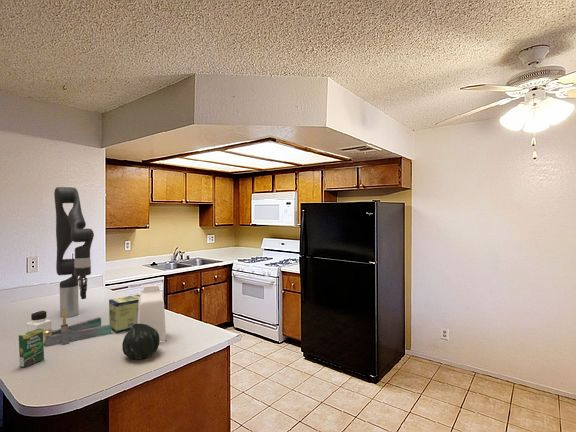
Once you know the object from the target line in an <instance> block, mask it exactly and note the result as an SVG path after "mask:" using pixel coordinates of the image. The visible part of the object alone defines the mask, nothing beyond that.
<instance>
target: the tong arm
mask: <svg viewBox="0 0 576 432" xmlns="http://www.w3.org/2000/svg"><path fill="white" fill-rule="evenodd" d="M99 326H102V318H101V317H100V316H98V317H94V318H91V319H87V320H85V321H82V322H78V323H75V324H71V325H68V329H69V332H72V331H78V330H83V329H89V328H94V327H99ZM56 334H61V327H60V328H58V329H52V332H51V333H50V335H56Z"/></svg>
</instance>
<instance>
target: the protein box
mask: <svg viewBox="0 0 576 432" xmlns="http://www.w3.org/2000/svg"><path fill="white" fill-rule="evenodd" d="M140 295H141V294H132V295H127V296H122V297H118V298H111V299H108V311H109V312H108V314H109V315H108V317H109V319H108V320H109V322H108V323H109V324H108V325H110V324H111V329H112V332H114V333H115V334H117V335H118V334H121V333H122V334H123V333H126V332H128V331H129V330H130V329H131V327H132V326H133V325H134V324H138V302H139V297H140Z"/></svg>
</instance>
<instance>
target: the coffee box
mask: <svg viewBox="0 0 576 432" xmlns="http://www.w3.org/2000/svg"><path fill="white" fill-rule="evenodd" d="M44 346H45V345H44V337H43V329H40V328H38V329H36V330H33V331H30V332H27V331H26V332H25V333H22V334H18V350H19V367H20V368H23V369H24V368H25V369H26V368H27V367H30V366H31V365H32V366H33V365H35V364H36V363H40V362H41V361H44V360H45V349H44V348H45V347H44Z"/></svg>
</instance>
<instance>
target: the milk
mask: <svg viewBox="0 0 576 432" xmlns="http://www.w3.org/2000/svg"><path fill="white" fill-rule="evenodd" d="M139 295H140V297H139V302H138V324H146V325H149V326H150V327H152V328H154V329H155V330H156V331H157V332H158V334H159V339H160V340H159V342H160V341H165V340H166V341H167V332H166V331H167V330H166V316H165V315H166V313H165V303H164V302H165V301H164V299H163V296H162V295H163V294H162V292H161V289H160V286H159V285H158V284H153V285H145V286H143V289H142V291H141V293H140V294H139ZM166 341H165V342H166ZM160 343H161V342H160Z"/></svg>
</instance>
